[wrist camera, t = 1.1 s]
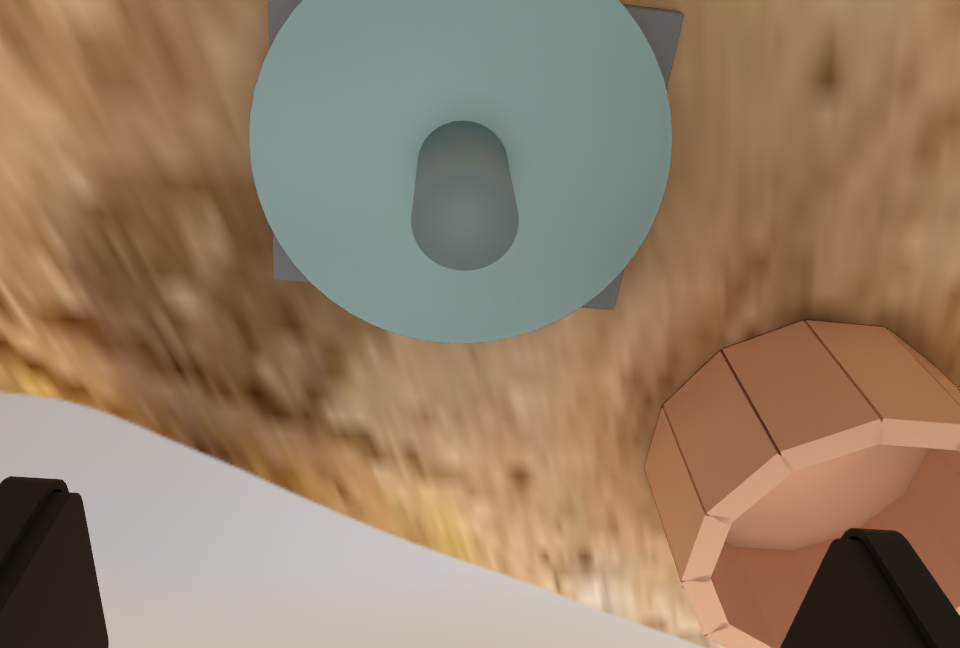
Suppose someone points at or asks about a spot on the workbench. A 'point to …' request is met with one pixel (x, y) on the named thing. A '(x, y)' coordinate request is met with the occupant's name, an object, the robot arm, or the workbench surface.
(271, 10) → the mat
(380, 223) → the lid
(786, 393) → the bowl
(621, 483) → the workbench surface
